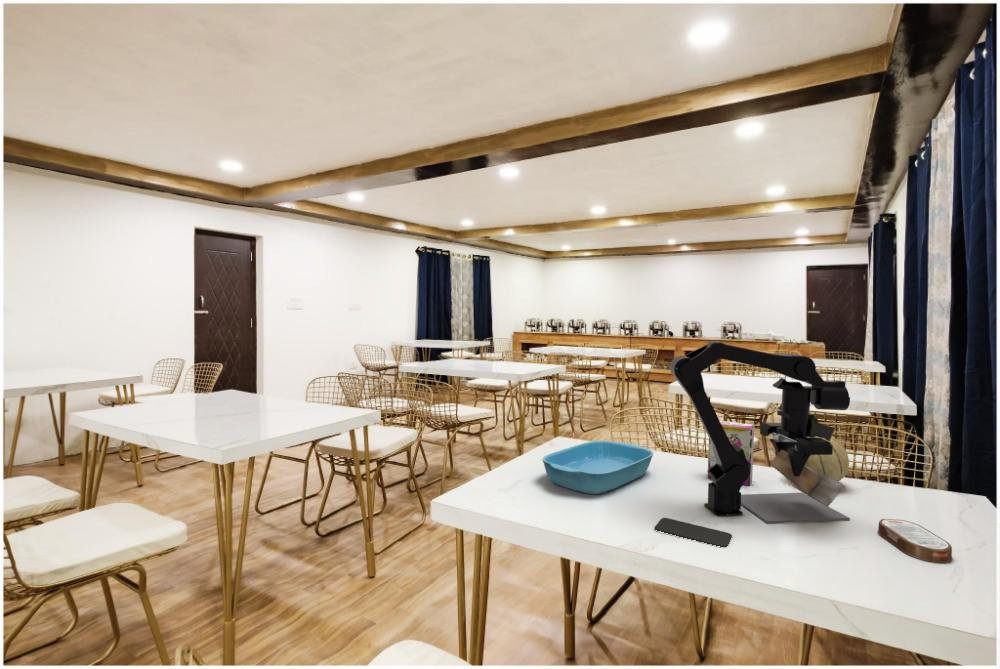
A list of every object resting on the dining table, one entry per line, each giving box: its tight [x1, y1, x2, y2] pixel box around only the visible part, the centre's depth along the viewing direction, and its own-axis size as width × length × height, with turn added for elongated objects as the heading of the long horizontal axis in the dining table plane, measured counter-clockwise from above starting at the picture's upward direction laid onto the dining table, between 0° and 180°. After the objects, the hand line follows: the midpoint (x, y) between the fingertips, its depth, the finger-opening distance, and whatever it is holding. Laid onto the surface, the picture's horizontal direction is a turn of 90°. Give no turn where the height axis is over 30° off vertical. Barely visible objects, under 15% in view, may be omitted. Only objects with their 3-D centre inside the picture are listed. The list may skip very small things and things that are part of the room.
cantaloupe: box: [797, 435, 850, 482], centre depth 140 cm, size 15×15×15 cm
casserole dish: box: [542, 440, 654, 495], centre depth 146 cm, size 37×22×7 cm, turn 136°
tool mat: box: [741, 492, 851, 525], centre depth 124 cm, size 20×16×1 cm
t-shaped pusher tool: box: [769, 449, 846, 507], centre depth 120 cm, size 12×12×6 cm
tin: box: [877, 518, 953, 564], centre depth 105 cm, size 15×3×8 cm
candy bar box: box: [707, 419, 755, 487], centre depth 143 cm, size 11×5×16 cm, turn 58°
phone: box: [654, 517, 733, 548], centre depth 111 cm, size 7×1×15 cm
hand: (792, 473), depth 120 cm, fingers closed on t-shaped pusher tool, 3 cm apart
